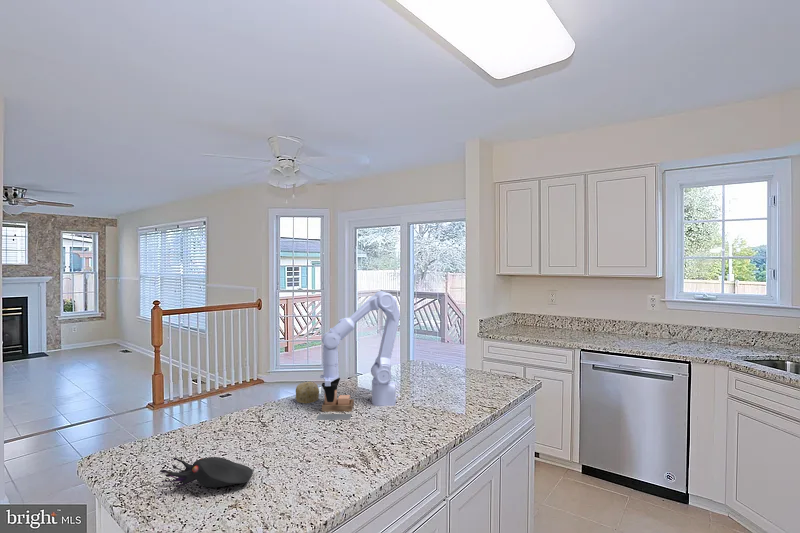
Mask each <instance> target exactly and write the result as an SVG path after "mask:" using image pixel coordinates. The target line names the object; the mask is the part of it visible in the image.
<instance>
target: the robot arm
mask: <svg viewBox="0 0 800 533" xmlns="http://www.w3.org/2000/svg"><path fill="white" fill-rule="evenodd" d="M377 310H381V311H382V312H383V313H384V315H385V316H386V318H385V322H384V328H383V333H382V336H381V341H380V345H379V351H378V355H377V357H376V358H375V361H374V363H373V365H372V366H371V368H370V374H371V375H372V377H373V378H372V380H371V403H372V405H373V406H376V407H387V406H388V407H390V406H393V407H394V406H396V402H397V395H396V394H397V393H396V392H397V391H396V390H397V389H396V388H397V387H396V381H391V380H392V370H391V369H392V360H391V358H392V355H393V354H392V353H393V349H394V346H395V345H394V344H395V340H396V336H397V332H398V328H399V323H400V319H401V313H400V310H399V307H398V304H397V299H396V298H395V297H394V296H393V294H391V293H389V292H387V291H383V290H380V291H377V292H375V294H374V295H372V296H370V297H369V298H368V299H367V300H366V301H365V302H364V303H362V305H361V306H359V307H358V309H357V310H355V311H354V312H353V313H352V314H351V315H350V316H349V317H343V318H340V319H338V323H336V324H335V325H334V326H333V327H330V328H329V331H325V333H324V334H323V335H322V338H321V342H322V344H323V347H322V350H323V352H322V359H323V360H322V364H323V365H322V366H323V368H322V370H323V371H322V372H323V374H321V375H320V376H319V377H320V379H323V381H324V382H322V383H321V387H322V389H323V391H324V393H325V394H326V398H327V402H333V400H334V394H335V390H337V391H338V386H339V383H340V380H341V378H340V374H339V373H340V372H339V367H340V366H339V350H338V349H339V347H338V346H340V342H341V341H343V339H345V337H347V336H348V335H349V334H350V333H351V332H353V330H354V329H355V324H357V323H358V322H360V320H361V319H363V318H364V317H365V316H366V315H367V314H369V313H370V312H371V311H372V312H373V311H377ZM325 394H324V395H325Z"/></svg>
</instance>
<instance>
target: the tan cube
mask: <svg viewBox="0 0 800 533" xmlns="http://www.w3.org/2000/svg"><path fill="white" fill-rule="evenodd" d="M323 395H324V401H325V405H336V403H337V399H338V389H337V390H335V394H334V400H333V402H327V398H326V394H325V392H324V394H323Z"/></svg>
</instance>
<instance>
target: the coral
mask: <svg viewBox="0 0 800 533" xmlns="http://www.w3.org/2000/svg"><path fill="white" fill-rule="evenodd" d="M319 397H320V389H319V387H318V384H317V383H316V382H313V381H311V380H310V381H305V382H301V383H300V384H298V385H296V387H295V401H296V402H297V403H300V404H310V403H311V404H312V403H315V402H317V401H318V400H319V399H320V398H319Z"/></svg>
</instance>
